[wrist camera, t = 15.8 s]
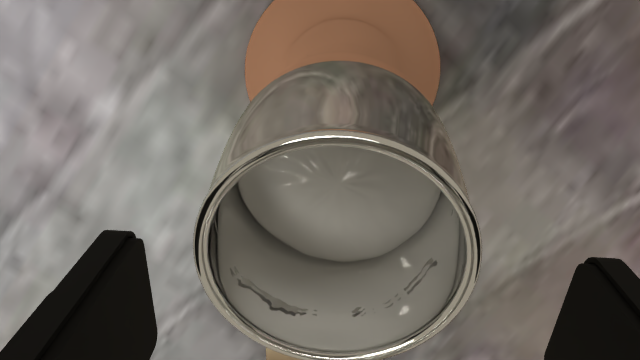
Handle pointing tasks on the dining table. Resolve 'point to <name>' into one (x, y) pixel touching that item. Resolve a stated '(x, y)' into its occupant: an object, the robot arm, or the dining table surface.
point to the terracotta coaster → (344, 3)
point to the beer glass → (338, 208)
